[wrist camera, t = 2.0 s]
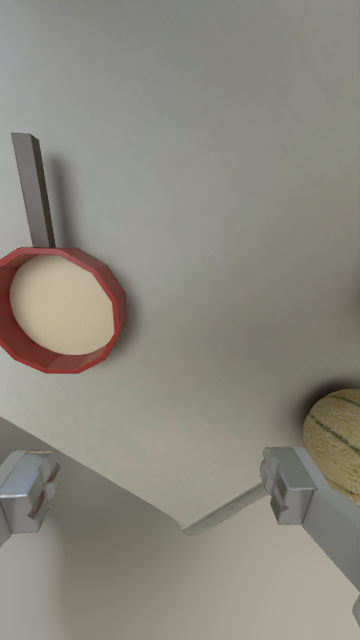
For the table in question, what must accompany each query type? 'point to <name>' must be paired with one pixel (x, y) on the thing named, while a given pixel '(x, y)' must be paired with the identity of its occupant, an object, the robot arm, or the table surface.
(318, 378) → the table surface
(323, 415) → the cantaloupe
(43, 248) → the pan
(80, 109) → the table surface
